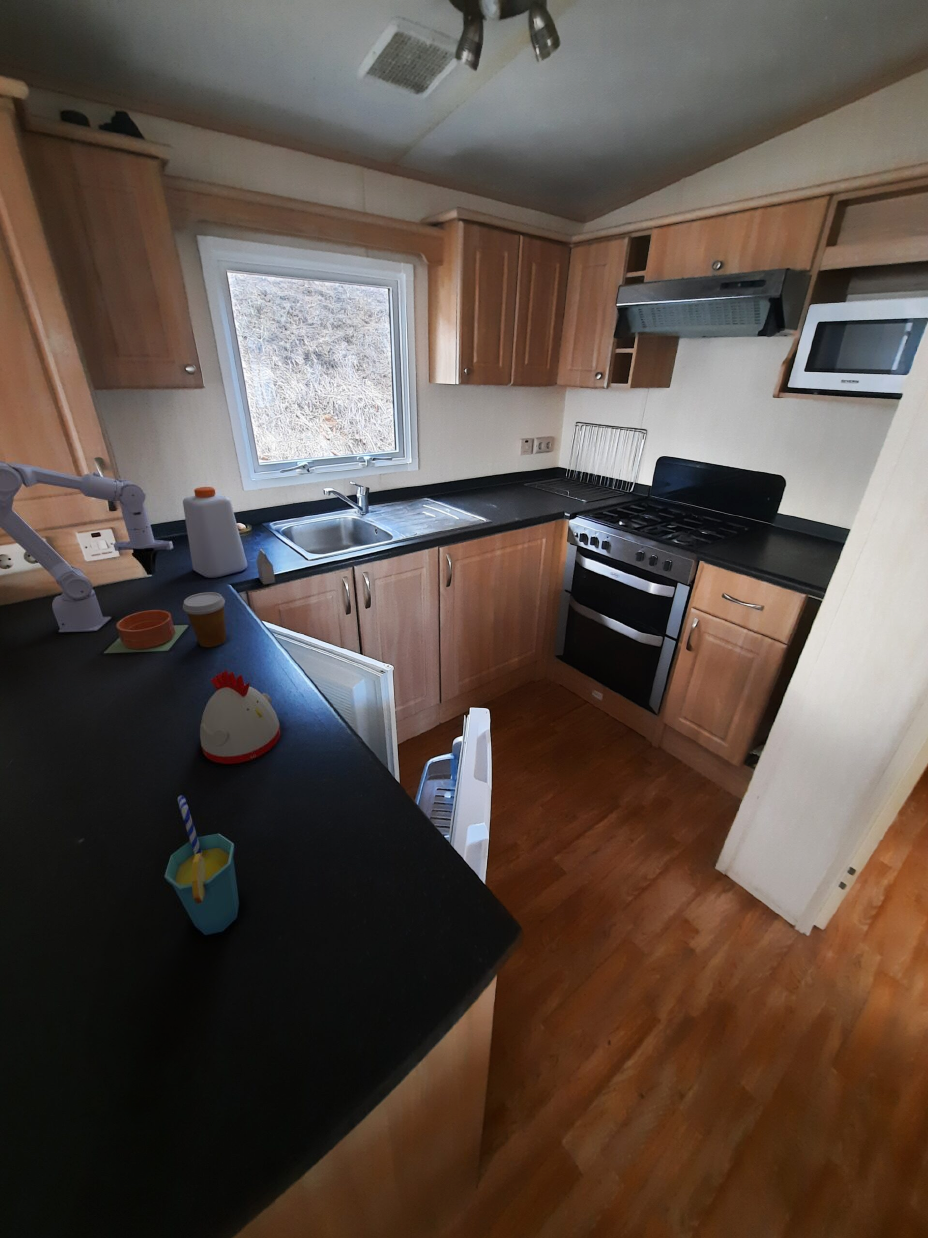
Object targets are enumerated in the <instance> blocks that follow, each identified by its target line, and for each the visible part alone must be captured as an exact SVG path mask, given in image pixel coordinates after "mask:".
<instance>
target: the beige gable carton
mask: <svg viewBox="0 0 928 1238" xmlns="http://www.w3.org/2000/svg"><path fill="white" fill-rule="evenodd" d="M266 554H267V553H265V551H264V550H263V549H262V548H259V550H258V554H257V558H256V561H255V563H256V568H257V569H256V570H257V574H258V579H259V580H260V582H261V583H262V584H263V585H268V584H269V585H270V584H274V583H276V578H275V577H276V576H275V572H274V565H273V563H272V562H271V561H270V560H269V558H268V556H267V555H266Z"/></svg>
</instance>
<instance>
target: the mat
mask: <svg viewBox="0 0 928 1238" xmlns="http://www.w3.org/2000/svg"><path fill="white" fill-rule="evenodd" d="M173 625H174V624H173ZM188 627H189V624H178V625H176V624H175V625H174V628H175V632H176V634H175V635H174V636H173V638H171V639H170V640H168V641H167V642H165V643H163V644H160V645H158V646H154V647H150V648H143V649H133V648H127V647H125V646H124V645H122V643H121V640H120V637H118V638H117V639H116V640H115V641H114V642H113V643H112V644H111V645H110V646H109V647H108V648H107V649H106V650H104V652H103V654H118V653H119V654H120V653H121V654H123V653H144V652H168V651H169V650H170V649H171V648H172V647H173V646H174V645H175V643H176V641H178V639H180V637H181V636H182V634H184V632H185V631H186V630H187V629H188Z"/></svg>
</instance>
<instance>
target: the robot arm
mask: <svg viewBox="0 0 928 1238" xmlns="http://www.w3.org/2000/svg"><path fill="white" fill-rule="evenodd" d="M38 484H42V485H49V486H55V487H60V488H66V489H73V490H78V491H80V492H81V494H82V495H83V496H85V497H88V498H93V499H98V500H103V501H109V502H112V503H113V502H119V506H120V509H121V515H122V518H123V521H124V526H125V528H126V533H127V536H128V539H129V541H128V540H126V541H116V542H114V543H113V548H114V551H115V552H119V551H132V552H131V556H132V557H133V558H134V559H135V560H136V561H137V563H139V564H140V566H141V567H142V569H143V571H145V573H146V575H147V576H152V575H153V576H154V575H155V573H156V561H157V556H158V552H159V550H167V551H169V550H170V551H171V550H172V549H174V545H173V544H174V543H173V541H172V540H161V539H155V538H154V534H153V533H154V532H153V530H152V525H151V523H150V519H149V515H148V511H147V509H146V506H145V500H146V493H145V492H144V491H143V489H142V487H140V486H139V485H137V484H135V483H133V482H131V481H128V480H125V479H122V478H118V477H116V479H115V478H112V477H111V478H110V477H106V476H102V475H101V473H98V472H96V471H95V472H94V471H93V472H92V473H85V474H84V475H81V476H78V475H72V474H69V473H64V472H60V471H56V470H52V469H49V468H48V469H47V468H43V467H39V466H36V465H32V464H31V465H30V464H25V463H19V462H8V463H7V462H6V461H2V460H0V528H1V530H2V531H4V533H6V534H7V535H8V536H9V537H10V538H11V539H12V540H13V541H15V543H16V544H18V546H20V547H21V548H22V549H23V550H24V551H25V552H26V553H27V554H28V555H29V556H31V557H32V558H33V560H35V562H37V563H38V564H39V565H40V566H41V567H42V568H43V569H44V570H45V571H47V573H49V575H50V576H51V577H52V578H53V579H54V580H55V582H56V584H57V585H58V586H59V587H60V589H61V590H62V592H61V595H57V596H55V597H54V598H53V600H52V604H51V607H52V608H51V609H52V612H53V614H54V617H55V620H56V622H57V626H58V627H59V628H58V629H59V630H58V633H80V632H83V633H84V632H97V631H98V630H99V629H101V628H102V627H103V626H104V625H105V624H107V623H108V622H109V621H110V620H111V619H112V616H104V615H103V613H102V610H101V607H100V604H99V601H98V598H97V596H96V595H97V594H96V592H95V589H93V584H92V581H91V579H89V578H88V577H87V576H86V574H85V573H84V572H83V571H82V569H80V568H78V567H75V566H72V565H71V564H70V563H69V562H67V560H65V559H64V558H63V556H61V555H60V554H59V553H58V552H57V551H56V550H55V549H54V548H53V547H52V546H51V545H50V544H49V543H48V542H47V541H46V540H45V539H44V538H43V537H42V536H40V534H39V533H37V531H35V529H34V528H32V527H31V526H30V525H29V524H28V523H27V522H26V521H25V519H23V517H21V516H20V515H19V514H18V513H17V512H16V511H15V510H14V509H13V505H14V499H15V498H14V497H15V496H16V495H17V494H18V492H19V491H20V489H21V488H22V485H24V487H25V488H30V487H33V486H35V485H38Z"/></svg>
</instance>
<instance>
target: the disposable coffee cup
mask: <svg viewBox="0 0 928 1238" xmlns="http://www.w3.org/2000/svg"><path fill="white" fill-rule="evenodd" d="M225 604H226V599H225V598H224V597H223V596H222V594H221V593H218V592H213V591H211V592H209V591H206V592H200V593H199V592H198V593H195V594H192V595H189V596H188V597H186V598H185V599H184V600H183V605H182V609H183V611H184V612H185V613H186V615H187V617H188V619H189V623H190V624H191V627H192V630H193V632H194V634H195V636H196V639H197V641H198V644H199V646H201V647H203V648H213V647H218V646H220V645H222V644H225V642H226V641H227V631H226V616H225Z"/></svg>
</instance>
